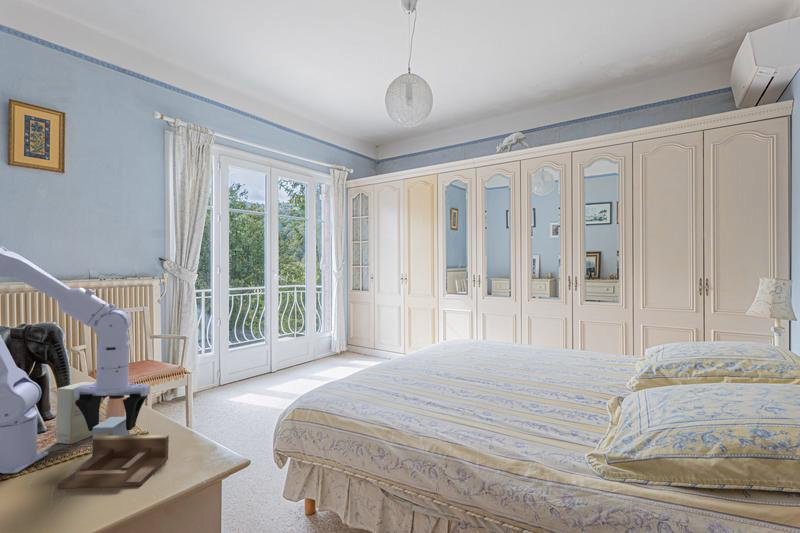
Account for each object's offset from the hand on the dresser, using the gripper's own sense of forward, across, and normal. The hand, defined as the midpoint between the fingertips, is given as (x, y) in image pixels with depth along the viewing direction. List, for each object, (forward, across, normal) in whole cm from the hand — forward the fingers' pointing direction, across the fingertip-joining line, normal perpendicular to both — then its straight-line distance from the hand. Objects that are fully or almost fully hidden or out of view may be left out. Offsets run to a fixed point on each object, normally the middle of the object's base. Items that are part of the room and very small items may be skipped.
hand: (112, 428), depth 87 cm
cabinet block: (+4, 0, 0) cm, 5 cm away
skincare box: (+5, -11, +6) cm, 13 cm away
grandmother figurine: (+5, -8, +15) cm, 18 cm away
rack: (+4, +7, -10) cm, 13 cm away
